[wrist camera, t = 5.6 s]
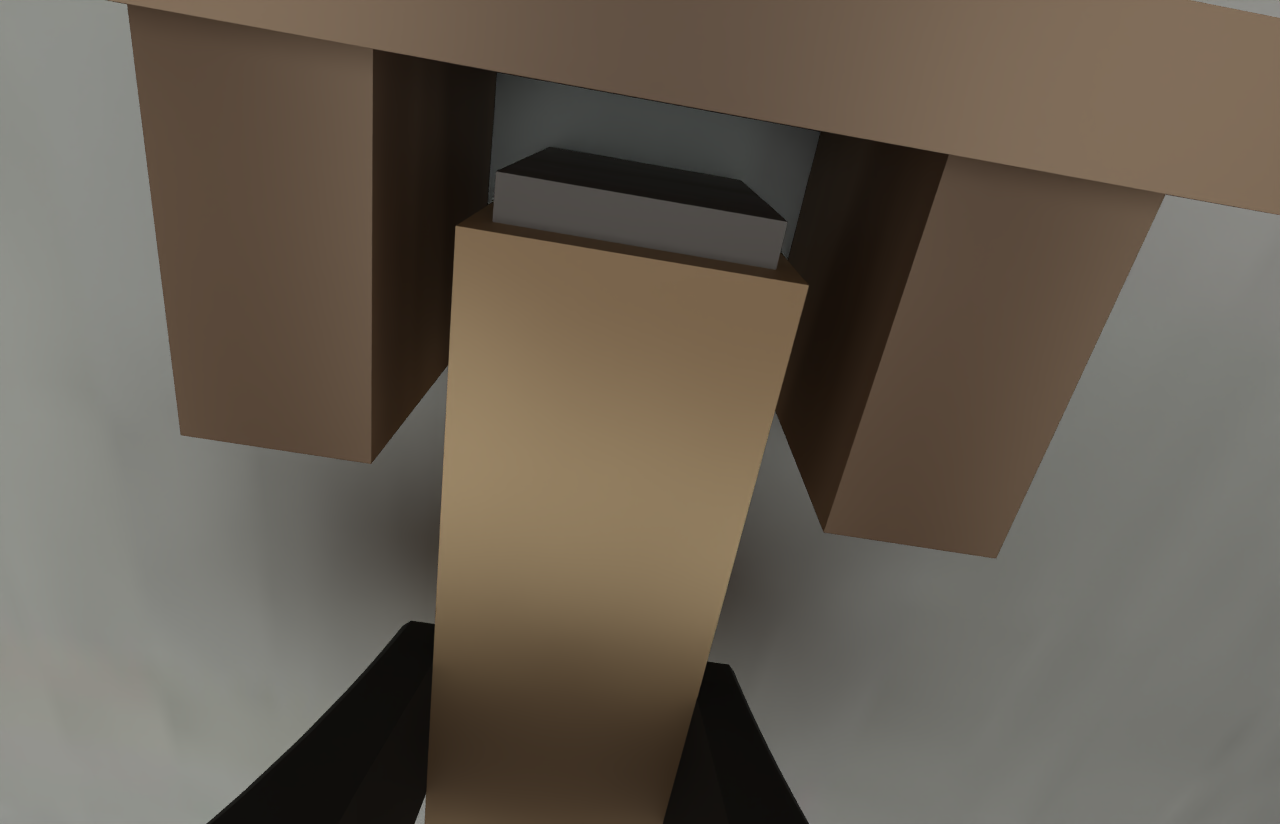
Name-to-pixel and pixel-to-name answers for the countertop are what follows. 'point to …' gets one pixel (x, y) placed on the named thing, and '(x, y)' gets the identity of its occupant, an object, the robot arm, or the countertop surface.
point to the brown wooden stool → (729, 84)
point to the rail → (595, 478)
